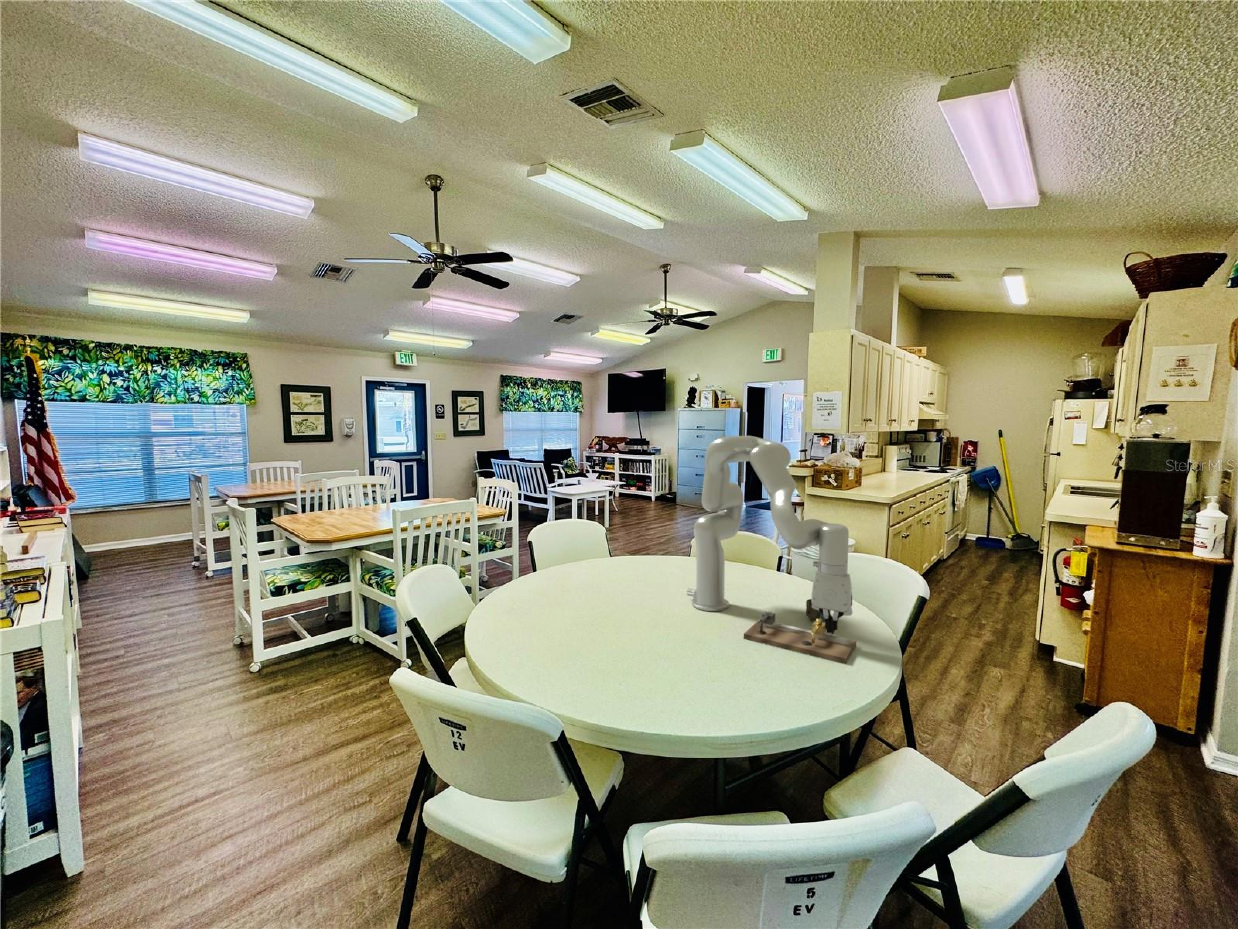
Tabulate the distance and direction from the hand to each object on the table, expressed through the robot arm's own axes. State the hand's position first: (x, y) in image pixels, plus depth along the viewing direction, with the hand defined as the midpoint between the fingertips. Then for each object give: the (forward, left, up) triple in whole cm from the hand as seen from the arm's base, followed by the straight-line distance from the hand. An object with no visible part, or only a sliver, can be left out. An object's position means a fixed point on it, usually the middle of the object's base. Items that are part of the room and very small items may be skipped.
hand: (831, 631), depth 145 cm
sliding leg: (-3, -2, -2) cm, 4 cm away
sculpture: (-7, +15, -4) cm, 17 cm away
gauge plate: (-8, -3, -4) cm, 9 cm away
